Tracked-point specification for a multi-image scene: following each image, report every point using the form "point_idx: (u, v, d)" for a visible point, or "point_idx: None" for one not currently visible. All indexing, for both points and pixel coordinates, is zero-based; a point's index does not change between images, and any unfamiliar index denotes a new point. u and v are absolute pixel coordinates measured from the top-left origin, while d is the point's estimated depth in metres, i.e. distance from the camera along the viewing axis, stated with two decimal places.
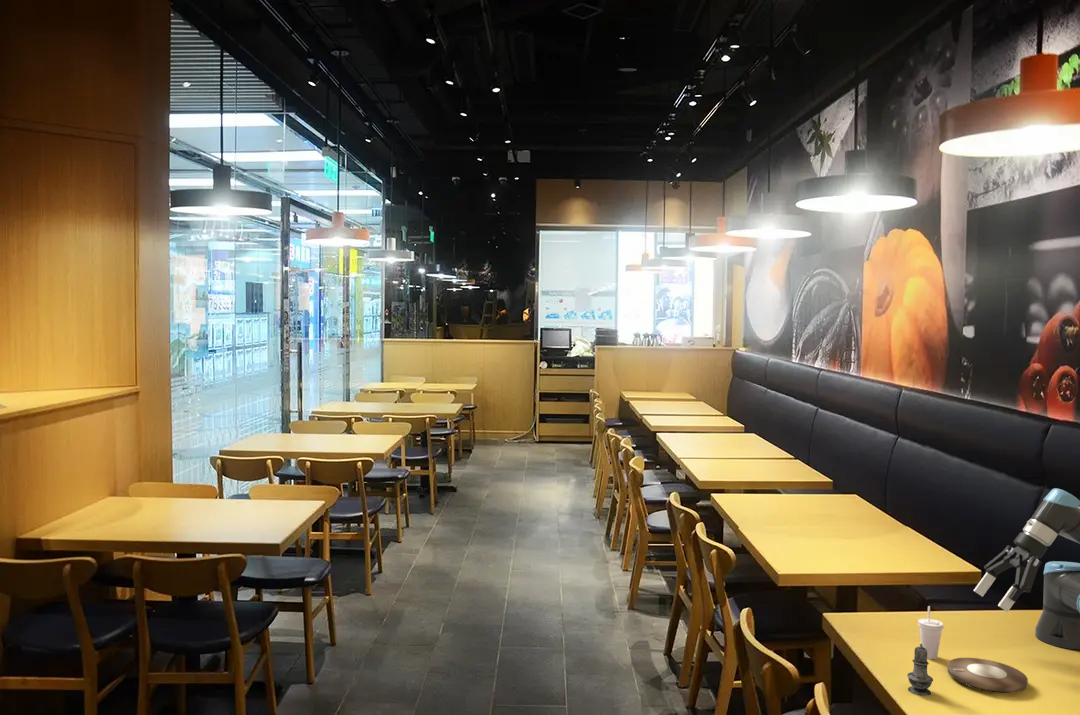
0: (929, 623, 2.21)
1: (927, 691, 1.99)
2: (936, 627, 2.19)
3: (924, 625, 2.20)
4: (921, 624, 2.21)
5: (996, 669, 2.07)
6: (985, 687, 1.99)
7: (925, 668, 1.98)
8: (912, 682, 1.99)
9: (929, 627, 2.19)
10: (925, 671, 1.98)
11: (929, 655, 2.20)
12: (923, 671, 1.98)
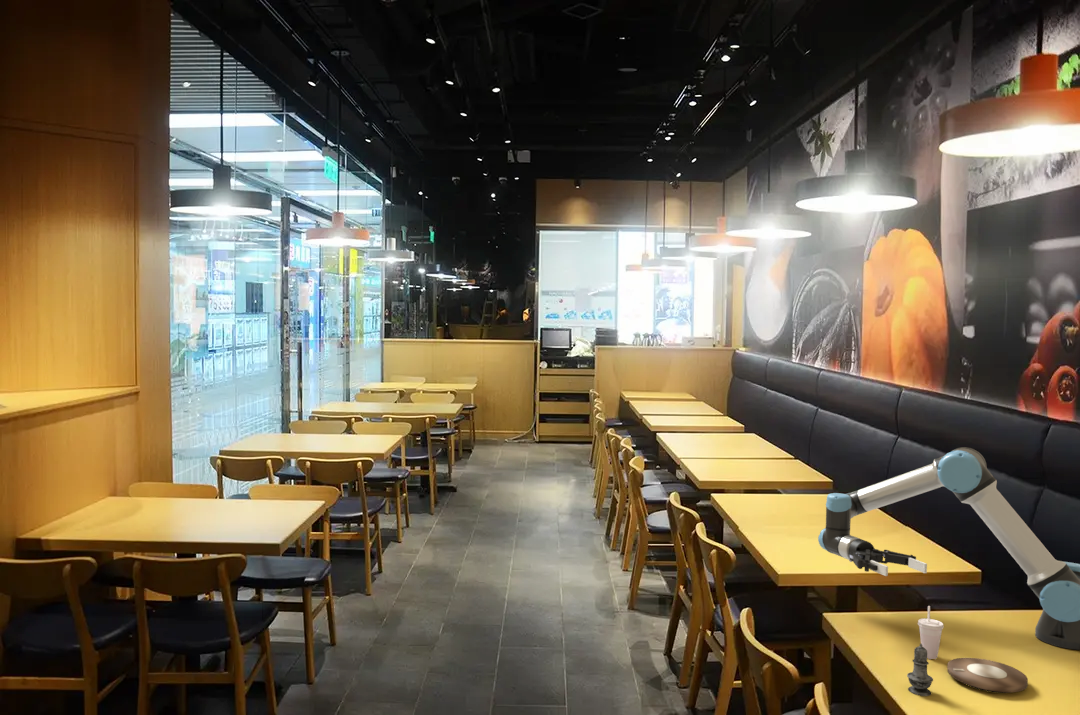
0: (929, 623, 2.21)
1: (927, 691, 1.99)
2: (936, 627, 2.19)
3: (924, 625, 2.20)
4: (921, 624, 2.21)
5: (996, 669, 2.07)
6: (985, 687, 1.99)
7: (925, 668, 1.98)
8: (912, 682, 1.99)
9: (929, 627, 2.19)
10: (925, 671, 1.98)
11: (929, 655, 2.20)
12: (923, 671, 1.98)
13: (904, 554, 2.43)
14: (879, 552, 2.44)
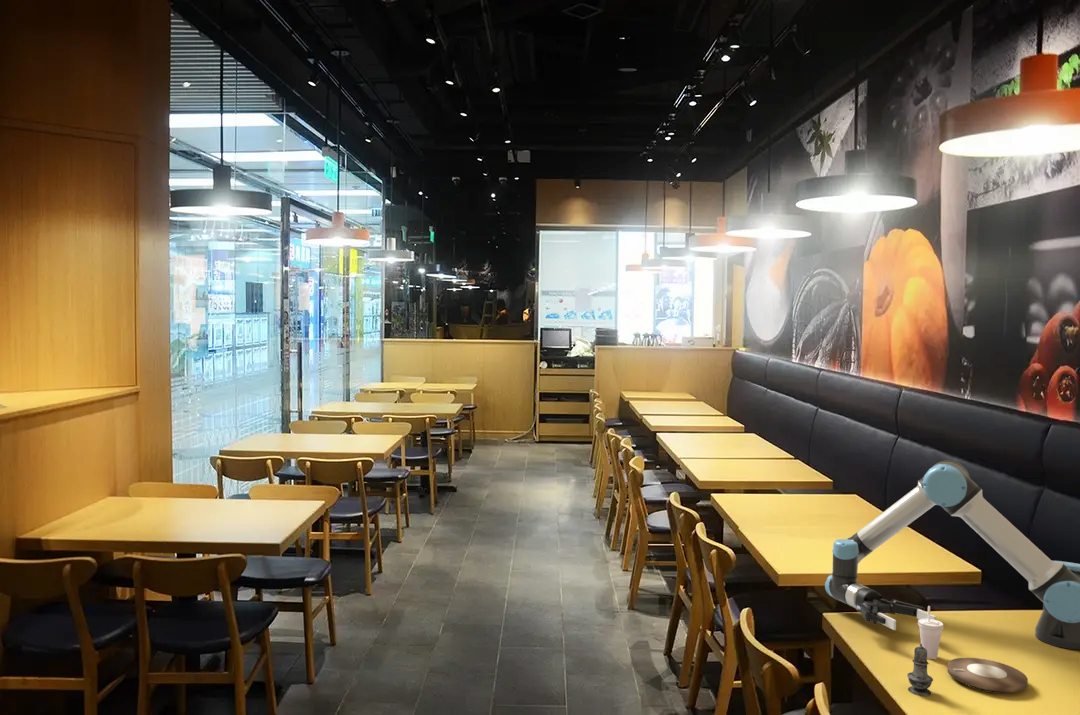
0: (929, 623, 2.21)
1: (927, 691, 1.99)
2: (936, 627, 2.19)
3: (924, 625, 2.20)
4: (921, 624, 2.21)
5: (996, 669, 2.07)
6: (985, 687, 1.99)
7: (925, 668, 1.98)
8: (912, 682, 1.99)
9: (929, 627, 2.19)
10: (925, 671, 1.98)
11: (929, 655, 2.20)
12: (923, 671, 1.98)
13: (912, 604, 2.39)
14: (887, 602, 2.40)
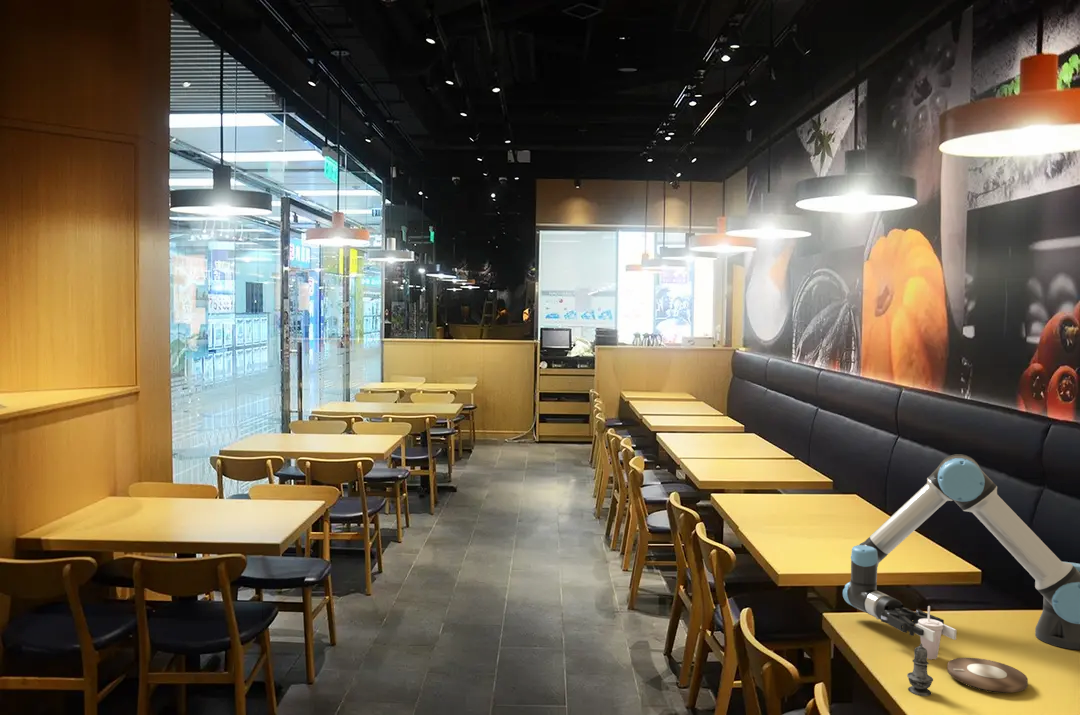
0: (929, 623, 2.21)
1: (927, 691, 1.99)
2: (936, 627, 2.19)
3: (924, 625, 2.20)
4: (921, 624, 2.21)
5: (996, 669, 2.07)
6: (985, 687, 1.99)
7: (925, 668, 1.98)
8: (912, 682, 1.99)
9: (929, 627, 2.19)
10: (925, 671, 1.98)
11: (929, 655, 2.20)
12: (923, 671, 1.98)
13: (933, 616, 2.29)
14: (907, 611, 2.32)
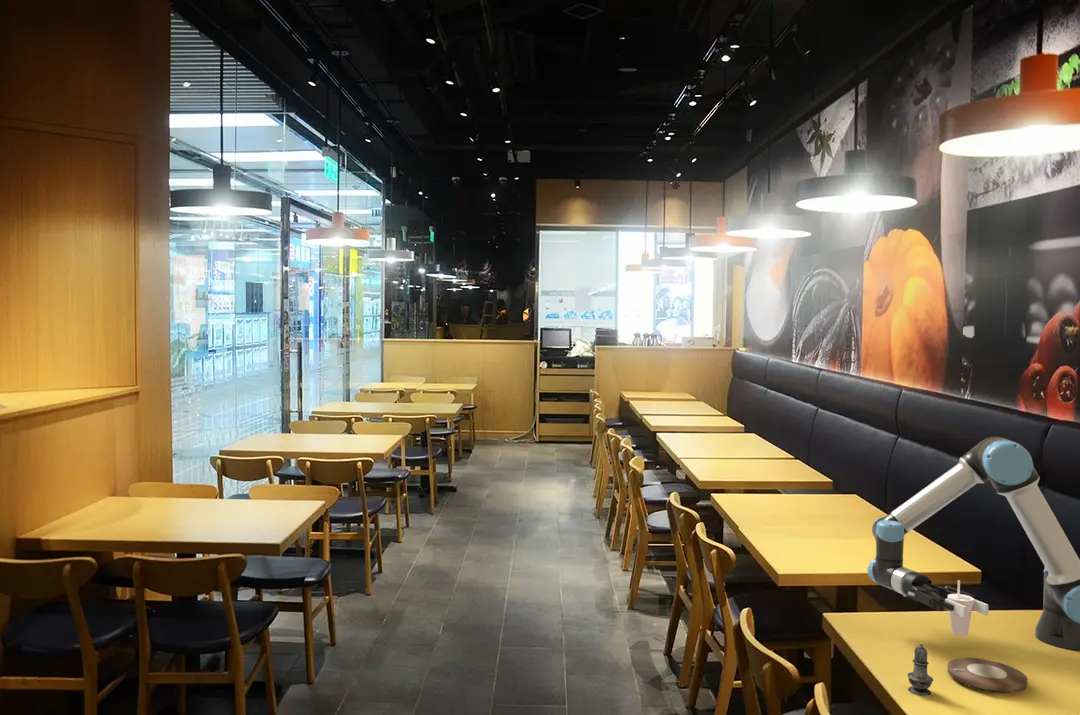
0: (959, 598, 2.11)
1: (927, 691, 1.99)
2: (967, 602, 2.09)
3: (954, 600, 2.11)
4: (951, 599, 2.11)
5: (996, 669, 2.07)
6: (985, 687, 1.99)
7: (925, 668, 1.98)
8: (912, 682, 1.99)
9: (959, 602, 2.10)
10: (925, 671, 1.98)
11: (959, 631, 2.11)
12: (923, 671, 1.98)
13: (963, 592, 2.19)
14: (936, 587, 2.22)
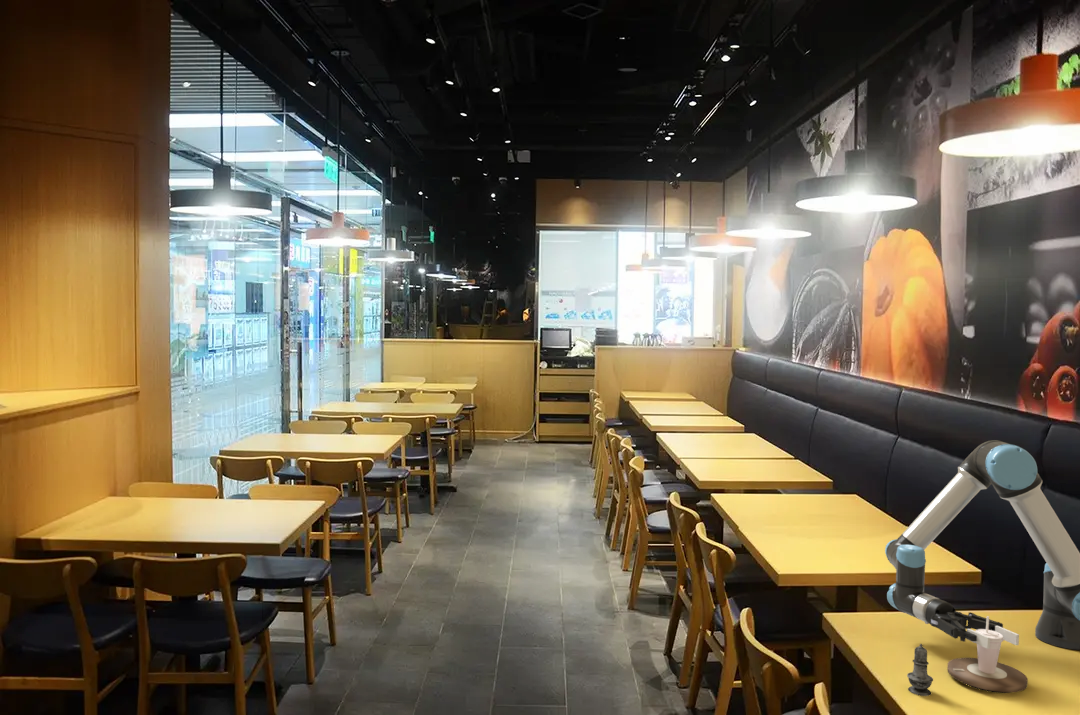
0: (988, 635, 2.05)
1: (927, 691, 1.99)
2: (996, 639, 2.03)
3: None
4: None
5: (996, 669, 2.07)
6: (985, 687, 1.99)
7: (925, 668, 1.98)
8: (912, 682, 1.99)
9: None
10: (925, 671, 1.98)
11: (987, 669, 2.05)
12: (923, 671, 1.98)
13: (990, 620, 2.14)
14: (961, 616, 2.16)
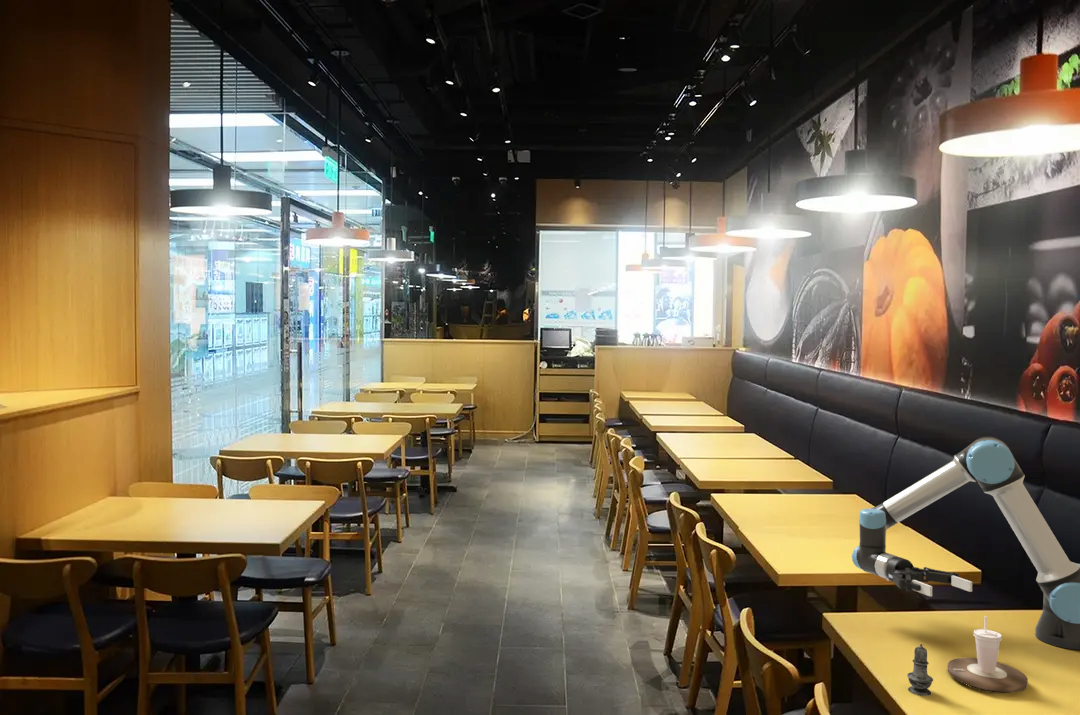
0: (986, 634, 2.05)
1: (927, 691, 1.99)
2: (994, 639, 2.03)
3: (981, 636, 2.05)
4: (978, 635, 2.05)
5: (996, 669, 2.07)
6: (985, 687, 1.99)
7: (925, 668, 1.98)
8: (912, 682, 1.99)
9: (987, 639, 2.04)
10: (925, 671, 1.98)
11: (987, 669, 2.05)
12: (923, 671, 1.98)
13: None
14: (919, 570, 2.32)
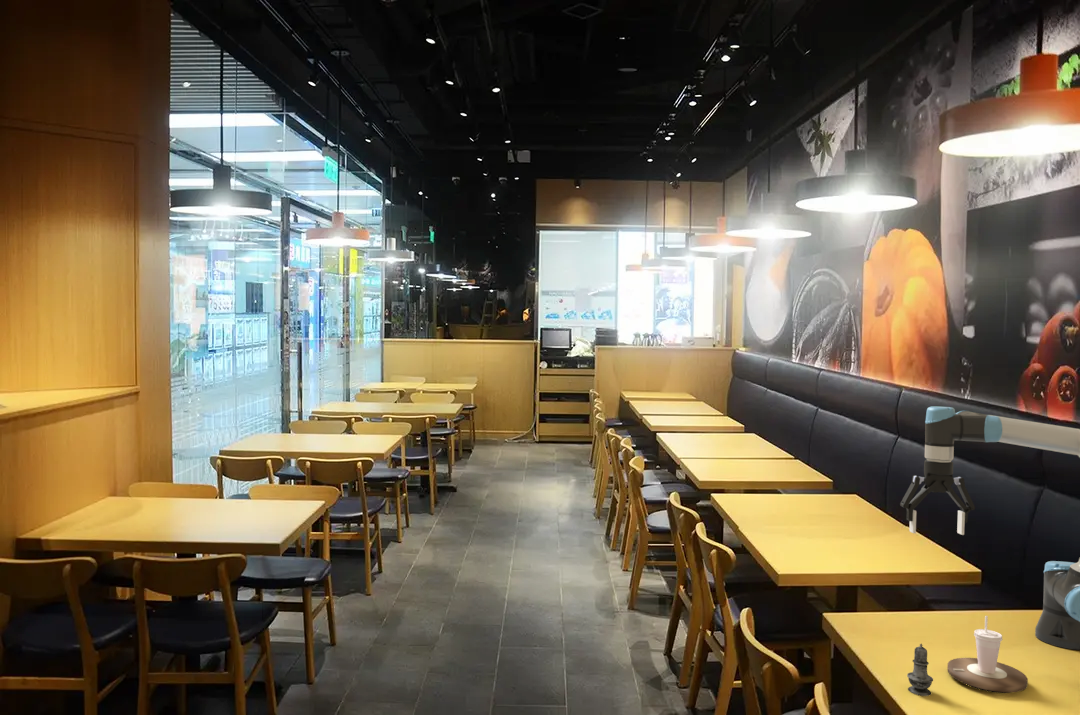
0: (987, 634, 2.05)
1: (927, 691, 1.99)
2: (995, 639, 2.03)
3: (981, 636, 2.05)
4: (978, 635, 2.05)
5: (996, 669, 2.07)
6: (985, 687, 1.99)
7: (925, 668, 1.98)
8: (912, 682, 1.99)
9: (987, 639, 2.04)
10: (925, 671, 1.98)
11: (987, 669, 2.05)
12: (923, 671, 1.98)
13: (969, 498, 2.31)
14: (946, 488, 2.31)
